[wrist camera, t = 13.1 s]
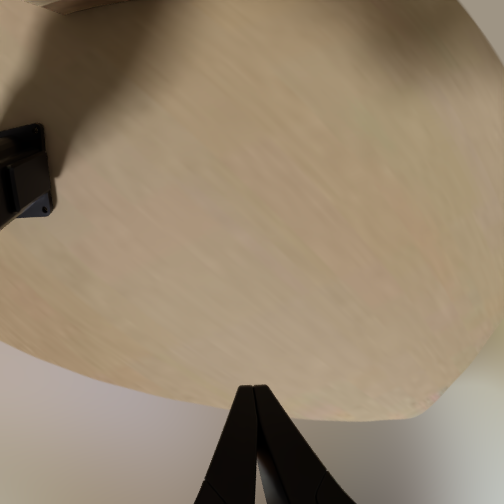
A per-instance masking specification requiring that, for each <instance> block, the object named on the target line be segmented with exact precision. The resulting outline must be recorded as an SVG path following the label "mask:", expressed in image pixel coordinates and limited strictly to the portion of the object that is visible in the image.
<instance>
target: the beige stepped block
mask: <svg viewBox="0 0 504 504" xmlns="http://www.w3.org/2000/svg"><path fill="white" fill-rule="evenodd" d="M22 1H25V2H28V3H31V4H34V5H37V6H40V7H43V8H46V9H49V10H52V11H54V12H57V13H60V14H62V15H66V14H69V13H73V12H77V11H80V10H85V9H89V8H93V7H98V6H102V5H107V4H112V3H118V2H124V1H130V0H22Z"/></svg>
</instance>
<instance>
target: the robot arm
mask: <svg viewBox="0 0 504 504" xmlns="http://www.w3.org/2000/svg"><path fill="white" fill-rule="evenodd" d="M35 128H37V129H38V133H36V132H35ZM50 188H51V186H50V179H49V171H48V162H47V154H46V152H45V141H44V128H43V125H42V124H41V123H34V124H30V125H25V126H21V127H16V128H12V129H8V130H4V131H0V230H2V229H3V228H4V227H5V226H6V225H8V224H9V223H10V222H11V221H13V220H14V219H15V218H27V217H46V216H49V215H50V214H51V213H52V211H53V205H52V199H51V193H50ZM45 207H47V209H48V211H46V210H45ZM257 462H258V467H259V471H260V476H261V480H262V485H263V489H264V493H265V498H266V502H267V504H356V503H355V502H354V501H353V500H352V499H351V498H350V496H348V494H347V493H346V492H345V491H344V490H343V489H342V488H341V487H340V485H339V484H338V483H337V482H336V480H335V479H334V478H333V477H332V475H331V474H330V473H329V471H326V470H327V469H326V467H325V466H324V465H323V463H322V462H321V461H320V459H319V458H318V457H317V455H316V454H315V453H314V451H313V450H312V449H311V447H310V446H309V444H308V443H307V442H306V440H305V439H304V437H303V436H302V435H301V433H300V432H299V430H298V429H297V427H296V426H295V425H294V423H293V422H292V420H291V419H290V417H289V416H288V415H287V413H286V412H285V410H284V409H283V407H282V406H281V404H280V403H279V401H278V400H277V399H276V397H275V396H274V394H273V393H272V391H271V390H270V388H269V387H268V386H267V385H254V386H252V385H240V386H239V387H238V390H237V393H236V395H235V398H234V401H233V404H232V406H231V409H230V412H229V415H228V418H227V421H226V423H225V426H224V428H223V431H222V434H221V436H220V439H219V442H218V444H217V447H216V450H215V452H214V455H213V458H212V460H211V463H210V465H209V468H208V471H207V473H206V476H205V480H204V481H203V483H202V486H201V488H200V491H199V493H198V495H197V498H196V500H195V502H194V504H255V485H256V465H257V464H256V463H257Z"/></svg>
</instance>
